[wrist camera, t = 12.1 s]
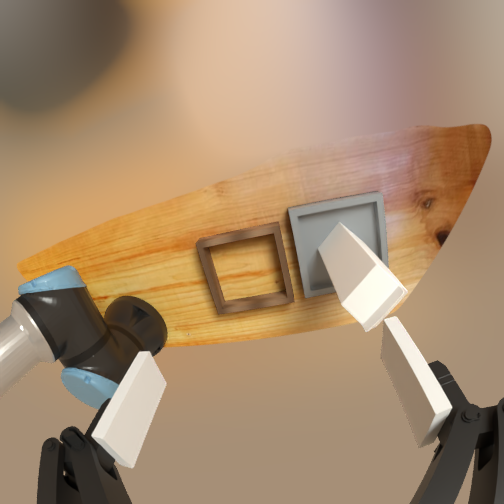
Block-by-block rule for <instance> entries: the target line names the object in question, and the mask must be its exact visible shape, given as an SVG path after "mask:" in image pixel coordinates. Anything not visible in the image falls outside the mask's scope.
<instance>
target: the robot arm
mask: <svg viewBox="0 0 504 504" xmlns="http://www.w3.org/2000/svg"><path fill="white" fill-rule="evenodd" d="M18 290H19V295H21V296H20V297H19V298H17V299H16V300H14V301H13V303H12V310H11V315H10V316H9V317H8V318H6V319H5V320H4V321H2V322H1V323H0V399H1V398H2V397H3V396H4V395H5V394H6V393H7V392H8V391H9V390H10V389H11V388H12V387H13V386H14V385H15V384H16V383H18V382H19V381H20V380H21V379H22V378H23V377H24V376H25V375H26V374H27V373H28V372H29V371H30V370H31V369H33V368H34V367H35V366H36V365H37V364H38V363H39V362H48V363H54V362H55V361H56V360H57V359H59V360H60V362H61V363H62V364H63V366H64V367H65V369H63V370H62V373H61V379H62V382H63V384H64V386H65V387H66V388H67V389H68V391H70V393H71V394H73V395H74V396H75V397H76V398H78V399H79V400H80V401H82V402H84V403H85V404H87V405H89V406H91V407H93V408H96V409H99V410H98V412H97V414H96V416H95V418H94V419H93V421H92V423H91V424H90V426H89V428H88V430H87V432H86V434H85V435H83V433H82V432H81V431H79V429H78V428H76V427H73V426H71V427H68V428H66V429H64V430H63V431H62V433H61V435H60V440H61V441H62V442H63V443H61V442H59V440H58V439H56V438H49V439H47V440H46V441H45V442H44V444H43V446H42V452H41V460H40V468H39V477H38V491H37V504H132V502H131V500H130V498H129V496H128V494H127V492H126V489H125V487H124V485H123V482H122V480H121V478H120V475H119V473H118V470H117V468H116V466H115V465H114V462H115V460H116V461H117V462H118V463H119V464H120V465H122V466H126V467H130V468H133V467H134V465H135V462H136V460H137V457H138V454H139V452H140V449H141V447H142V444H143V441H144V439H145V436H146V434H147V431H148V429H149V426H150V424H151V421H152V419H153V416H154V414H155V411H156V409H157V406H158V404H159V401H160V399H161V396H162V394H163V392H164V389H165V387H166V381H165V380H164V378H163V376H162V374H161V372H160V370H159V369H158V367H157V365H156V363H155V361H154V359H153V356H155V355H156V354H157V353H159V352H160V350H161V349H162V348H163V346H164V344H165V342H166V340H167V328H166V325H165V322H164V320H163V318H162V317H161V315H160V314H159V313H158V312H157V310H156V309H155V308H153V307H152V306H151V305H150V304H148V303H147V302H145V301H143V300H141V299H139V298H136V297H132V296H122V297H119V298H117V299H115V300H114V301H113V302H112V303H111V304H110V305H109V306H108V308H107V309H106V312H105V315H104V319H103V317H102V316H101V314H100V312H99V310H98V308H97V307H96V305H95V303H94V301H93V299H92V297H91V295H90V293H89V291H88V289H87V286H86V284H84V282H83V281H82V279H81V277H80V275H79V273H78V271H77V270H76V269H75V268H74V267H72V266H64V267H62V268H59V269H57V270H54V271H52V272H50V273H47V274H45V275H43V276H40V277H38V278H36V279H33V280H31V281H29V282H27V283H25V284H23V285H20V286H19V287H18ZM381 359H382V361H383V363H384V365H385V368H386V370H387V372H388V374H389V377H390V379H391V381H392V383H393V386H394V388H395V390H396V392H397V395H398V397H399V399H400V401H401V404H402V407H403V409H404V411H405V414H406V416H407V419H408V421H409V424H410V426H411V429H412V432H413V434H414V437H415V439H416V442H417V445H418V447H419V448H421V447H423V446H426V445H428V444H431V443H433V442H434V441H435V439H436V438H437V436H438V438H439V441H440V443H439V445H438V446H437V448H436V449H435V451H434V452H435V454H434V457H433V459H432V461H431V464H430V466H429V468H428V470H427V472H426V474H425V476H424V478H423V480H422V482H421V484H420V486H419V488H418V490H417V491H416V493H415V495H414V497H413V499H412V501H411V502H410V504H454V502H455V500H456V498H457V496H458V493H459V491H460V489H461V486H462V484H463V481H464V479H465V476H466V473H467V470H468V468H469V465H470V462H471V459H472V456H473V453H474V450H475V460H474V470H473V478H472V485H471V491H470V497H469V502H468V504H504V398H503V399H501V400H500V401H499V403H498V405H496V406H491V407H486V408H479V407H478V406H476V405H474V404H470V403H469V402H468V401H467V399H466V397H465V396H464V394H463V392H462V391H461V389H460V388H459V386H458V384H457V383H456V381H454V378H453V376H452V375H451V374H450V372H449V371H448V369H447V367H446V366H445V365H444V364H442V363H441V362H439V361H435V362H432V363H429V364H427V362H426V361H425V359H424V358H423V356H422V354H421V353H420V351H419V350H418V348H417V347H416V345H415V344H414V342H413V340H412V339H411V337H410V336H409V334H408V333H407V331H406V330H405V328H404V327H403V325H402V324H401V323H400V321H399V319H398V318H397V317H396V316H395V317H391V318H387V319H384V321H383V337H382V349H381ZM63 471H65V476H64V475H63Z"/></svg>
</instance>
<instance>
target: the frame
mask: <svg viewBox="0 0 504 504" xmlns="http://www.w3.org/2000/svg"><path fill="white" fill-rule="evenodd" d="M272 233H274V236H275V241H276V245H277V250H278V254H279V259H280V264H281V268H282V273H283V278H284V282H285V287H286V291H281V292H275V293H270V294H264V295H258V296H253V297H247V298H241V299H234V300H228V301H225V300H224V296H223V293H222V290H221V287H220V284H219V281H218V277H217V274H216V271H215V268H214V264H213V261H212V258H211V254H210V251H209V248H208V247H209V246H214V245H219V244H224V243H228V242H233V241H238V240H243V239H248V238H252V237H257V236H262V235H267V234H272ZM196 246H197V250H198V253H199V256H200V259H201V262H202V266H203V269H204V272H205V275H206V278H207V281H208V284H209V287H210V290H211V293H212V296H213V299H214V302H215V305H216V308H217V311H218V314H225V313H232V312H238V311H245V310H251V309H257V308H263V307H269V306H275V305H281V304H286V303H292V302H294V295H293V289H292V284H291V279H290V274H289V269H288V264H287V259H286V255H285V250H284V245H283V240H282V236H281V231H280V226H279V222H273V223H269V224H264V225H259V226H254V227H250V228H245V229H240V230H236V231H231V232H226V233H222V234H217V235H213V236H208V237H204V238H200V239H199V240H198V241H197V243H196Z"/></svg>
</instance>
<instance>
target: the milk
mask: <svg viewBox="0 0 504 504" xmlns="http://www.w3.org/2000/svg"><path fill="white" fill-rule="evenodd" d="M318 250H319V253H320V255H321V257H322V260H323V262H324V264H325V266H326V269H327V271H328V274H329V276H330V278H331V281H332V283H333V286H334V288H335V290H336V293H337V295H338V298H339V300H340V303H341V305H342V306H343V307H344V308H345V309H346V310H347V311H348V312H349V313H350V314H351V315H352V316H353V317H354V318H355V319H356V320H357V321H358V322H359V323H360V324H361V325H362V326H363V328H364V331H365V332H368V331H369V330H370V329H371V328H375V327H376V326H377V325H378V324H379V323H380V322H381V321H382V320H383V319H384V318H385V317H386V316H387V315H388V314H389V313H390V312H391V310H392V309H393V308H394V307H395V306H396V305H397V304H398V303H399V302H400V301H401V300H402V298H403V297H404V296H405V295H406V294H407V293H408V291H407V290H406V288H405V287H404V286H403V285H402V284H401V283H400V281H399V280H398V279H397V278H396V277H395V276H394V275H393V273H392V272H391V271H390V270H389V269H388V268H387V267H386V266H385V264H384V263H383V262H382V261H381V260H380V259H379V258H378V257H377V256H376V255H375V254H374V252H373V251H372V250H371V249H370V248H369V247H368V246H367V245H366V244H365V243H364V242H363V241H362V240H361V239H360V238H358V237H357V236H356V235H355V234H354V233H352V232H351V231H350V230H349V229H348V228H346V227H345V226H344V225H343V224H341V223H340V222H339V223H338V224H337V225H336V226H335V228H334V229H333V230H332V231H331V233H330V234H329V235H328V236H327V238H326V239H325V240H324V241H323V243H322V244H321V245H320V246H319V247H318Z"/></svg>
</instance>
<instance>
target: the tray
mask: <svg viewBox="0 0 504 504" xmlns="http://www.w3.org/2000/svg"><path fill="white" fill-rule="evenodd" d="M288 211H289V216H290V221H291V226H292V231H293V236H294V241H295V246H296V251H297V256H298V262H299V267H300V272H301V278H302V284H303V289H304V295H305V298H309V297H314V296H319V295H324V294H329V293H334V292H336V290H335V288H334V286H333V283H332V281H331V278H330V276H329V274H328V271H327V269H326V266H325V264H324V262H323V260H322V257H321V255H320V253H319V250H318V247H319V246H320V245H321V244H322V243H323V241H324V240H325V239H326V238H327V236H328V235H329V234H330V233H331V231H332V230H333V229H334V228H335V226H336V225H337V224H338V223H339V222H340V223H341V224H343V225H344V226H345V227H346V228H348V229H349V230H350V231H351V232H352V233H354V234H355V235H356V236H357V237H358V238H360V239H361V240H362V241H363V242H364V243H365V244H366V245H367V246H368V247H369V248H370V249H371V250H372V251H373V252H374V254H375V255H376V256H377V257H378V258H379V259H380V260H381V261H382V262H383V263H384V264H385V266H386V267H387V268H388V269H389V266H388V246H387V232H386V221H385V211H384V202H383V194H382V193H381V192H378V191H375V192H369V193H363V194H357V195H351V196H346V197H340V198H335V199H330V200H324V201H319V202H314V203H309V204H303V205H298V206H293V207H288Z"/></svg>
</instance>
